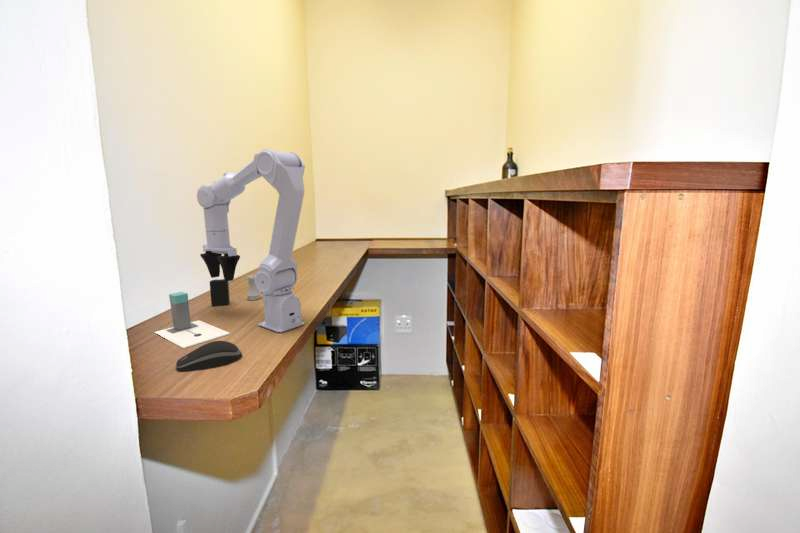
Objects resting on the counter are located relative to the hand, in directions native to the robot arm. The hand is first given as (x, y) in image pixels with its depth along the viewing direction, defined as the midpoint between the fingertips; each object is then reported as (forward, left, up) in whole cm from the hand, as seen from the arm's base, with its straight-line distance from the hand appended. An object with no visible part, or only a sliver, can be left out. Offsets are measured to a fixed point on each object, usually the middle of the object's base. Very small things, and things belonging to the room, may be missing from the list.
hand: (222, 278), depth 107 cm
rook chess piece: (+8, -14, -11) cm, 19 cm away
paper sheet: (-8, +13, -10) cm, 18 cm away
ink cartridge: (+10, -4, -11) cm, 15 cm away
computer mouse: (-27, +18, -11) cm, 35 cm away
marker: (-3, +13, -10) cm, 17 cm away
